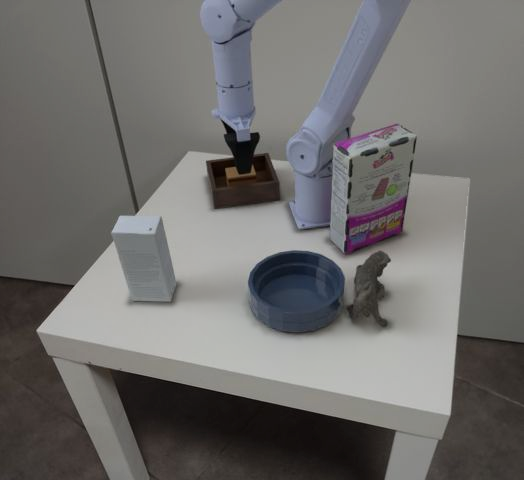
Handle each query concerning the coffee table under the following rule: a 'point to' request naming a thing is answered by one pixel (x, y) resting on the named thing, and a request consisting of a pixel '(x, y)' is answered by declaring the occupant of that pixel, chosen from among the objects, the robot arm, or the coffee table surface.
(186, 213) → the coffee table surface
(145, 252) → the cosmetic box
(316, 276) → the bowl
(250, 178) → the light brown rectangular block
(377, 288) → the dog figurine
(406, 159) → the candy bar box
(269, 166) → the box
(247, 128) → the robot arm
